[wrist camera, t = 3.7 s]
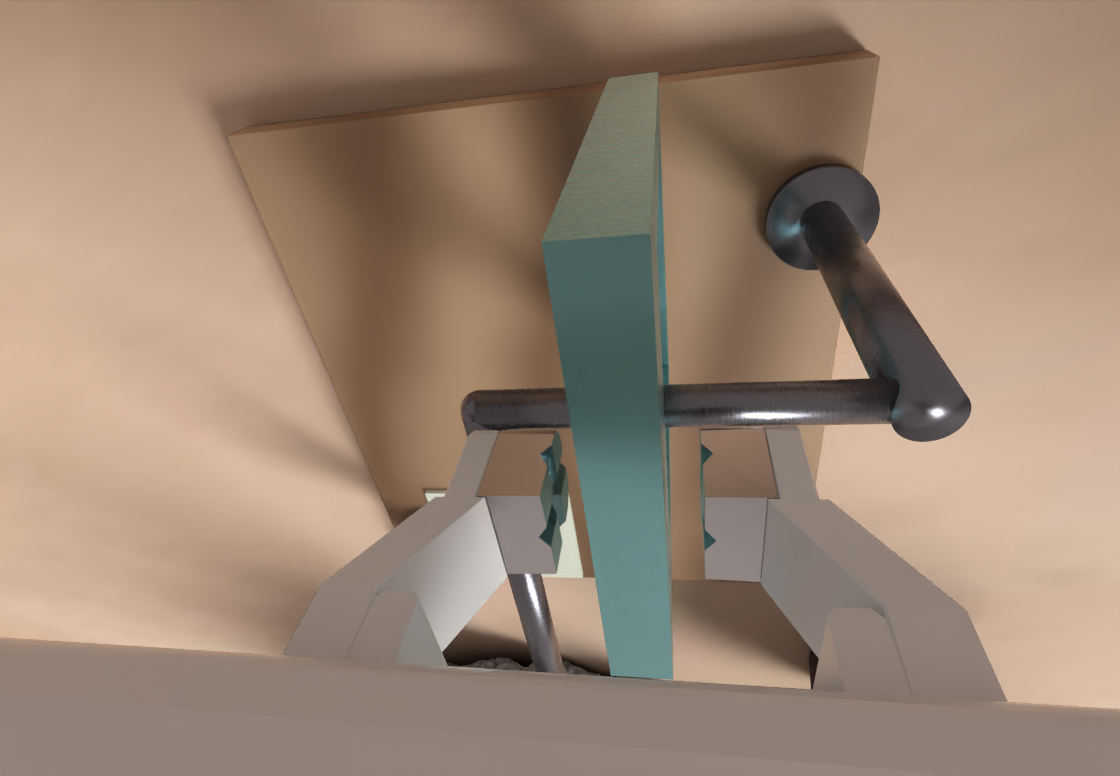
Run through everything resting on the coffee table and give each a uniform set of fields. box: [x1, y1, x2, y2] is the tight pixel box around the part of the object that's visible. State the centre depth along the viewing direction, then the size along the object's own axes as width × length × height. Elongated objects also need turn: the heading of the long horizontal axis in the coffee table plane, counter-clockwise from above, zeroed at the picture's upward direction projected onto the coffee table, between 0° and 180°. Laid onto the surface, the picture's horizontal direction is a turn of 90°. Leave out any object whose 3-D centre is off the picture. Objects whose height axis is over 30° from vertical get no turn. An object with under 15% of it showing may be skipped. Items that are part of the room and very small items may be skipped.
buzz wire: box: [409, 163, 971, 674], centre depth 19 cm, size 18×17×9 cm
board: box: [226, 50, 880, 583], centre depth 23 cm, size 18×21×1 cm
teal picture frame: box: [541, 72, 673, 679], centre depth 13 cm, size 1×9×10 cm, turn 7°
